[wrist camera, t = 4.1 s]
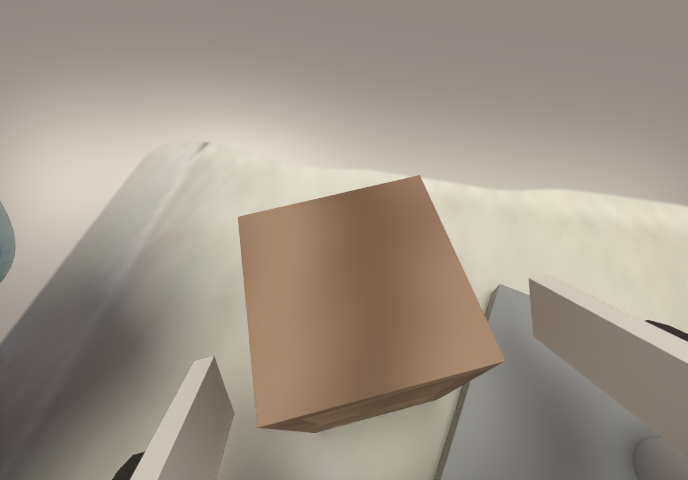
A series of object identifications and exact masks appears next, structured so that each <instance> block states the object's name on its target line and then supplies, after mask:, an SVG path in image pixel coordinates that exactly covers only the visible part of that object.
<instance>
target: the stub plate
mask: <svg viewBox="0 0 688 480" xmlns="http://www.w3.org/2000/svg"><path fill="white" fill-rule="evenodd" d="M485 318H486V320H487V322H488V324H489V326H490V329H491V331H492V333H493V335H494V337H495V339H496V342H497V344H498V346H499V348H500V350H501V352H502V355H503V357H504V359H505V362H503V363H501V364H499V365H498V366H496V367H494V368H492V369H491V370H489V371H487V372H485V373H483V374H482V375H480V376H478V377H476V378H475V379H473V380H471V381H469V382H467V383H466V384H464V386H463V389H462V392H461V395H460V399H459V402H458V405H457V408H456V412H455V415H454V418H453V421H452V425H451V428H450V431H449V434H448V437H447V441H446V444H445V447H444V450H443V454H442V457H441V460H440V463H439V467H438V470H437V473H436V476H435V480H688V457H687V456H686V455H684V454H683V453H682V452H681V451H679V450H678V449H677V448H676V447H674V446H673V445H672V444H670V443H669V442H668V441H667V440H665V439H664V438H663V437H661V436H660V435H659V434H658V433H656V432H655V431H654V430H652V429H651V428H650V427H649V426H647V425H646V424H645V423H644V422H642V421H641V420H640V419H638V418H637V417H636V416H635V415H633V414H632V413H631V412H629V411H628V410H627V409H626V408H624V407H623V406H622V405H621V404H619V403H618V402H617V401H615V400H614V399H613V398H612V397H610V396H609V395H608V394H606V393H605V392H604V391H603V390H601V389H600V388H599V387H597V386H596V385H595V384H594V383H592V382H591V381H590V380H589V379H587V378H586V377H585V376H583V375H582V374H581V373H580V372H578V371H577V370H576V369H574V368H573V367H572V366H571V365H569V364H568V363H567V362H566V361H564V360H563V359H562V358H560V357H559V356H558V355H557V354H555V353H554V352H553V351H551V350H550V349H549V348H548V347H546V346H545V345H544V344H542V343H541V342H540V341H539V340H537V339H536V338H535V337H534V336H533V328H532V314H531V301H530V296H529V295H527V294H524V293H522V292H519V291H517V290H514V289H511V288H509V287H506V286H504V285H501V284H499V286H498V287H497V288H496V289H495V290H494V291H493V293H492V295H491V298H490V302H489V305H488V308H487V311H486V315H485Z"/></svg>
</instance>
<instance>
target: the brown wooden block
mask: <svg viewBox="0 0 688 480" xmlns="http://www.w3.org/2000/svg"><path fill="white" fill-rule="evenodd" d="M238 223H239V234H240V244H241V255H242V266H243V277H244V287H245V298H246V309H247V320H248V330H249V341H250V352H251V363H252V373H253V384H254V395H255V406H256V416H257V427H258V428H267V429H278V430H290V431H301V432H312V433H316V432H319V431H323V430H327V429H330V428H334V427H338V426H341V425H345V424H349V423H352V422H356V421H360V420H363V419H367V418H371V417H374V416H378V415H382V414H385V413H389V412H393V411H396V410H400V409H404V408H407V407H411V406H415V405H418V404H422V403H426V402H429V401H433V400H437V399H439V398H441V397H442V396H444V395H446V394H448V393H450V392H451V391H453V390H455V389H457V388H458V387H460V386H462V385H464V384H466V383H467V382H469V381H471V380H473V379H475V378H476V377H478V376H480V375H482V374H483V373H485V372H487V371H489V370H491V369H492V368H494V367H496V366H498V365H499V364H501V363H503V362H505V359H504V357H503V355H502V352H501V350H500V348H499V346H498V344H497V342H496V339H495V337H494V335H493V333H492V331H491V329H490V326H489V324H488V322H487V320H486V318H485V316H484V313H483V311H482V309H481V307H480V305H479V303H478V300H477V298H476V296H475V294H474V292H473V290H472V287H471V285H470V283H469V281H468V279H467V277H466V274H465V272H464V270H463V268H462V266H461V264H460V262H459V259H458V257H457V255H456V253H455V251H454V249H453V246H452V244H451V242H450V240H449V238H448V236H447V233H446V231H445V229H444V227H443V225H442V223H441V220H440V218H439V216H438V214H437V212H436V210H435V207H434V205H433V203H432V201H431V199H430V197H429V194H428V192H427V190H426V188H425V186H424V184H423V181H422V179H421V177H420V175H419V176H414V177H410V178H406V179H401V180H397V181H393V182H388V183H384V184H379V185H375V186H371V187H366V188H362V189H358V190H353V191H349V192H345V193H340V194H336V195H332V196H327V197H323V198H318V199H314V200H310V201H305V202H301V203H297V204H292V205H288V206H284V207H279V208H275V209H270V210H266V211H262V212H257V213H253V214H249V215H244V216H240V217H238Z"/></svg>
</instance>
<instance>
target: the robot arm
mask: <svg viewBox="0 0 688 480" xmlns="http://www.w3.org/2000/svg"><path fill="white" fill-rule="evenodd" d="M14 254H15V237H14V231H13V228H12V225H11V222H10V220H9V217H8V215H7V213H6V212H5V209H4V207H3V205H2V204H1V202H0V283H1V281H2V280H3V279H4V278H5V276H6V274H7V273H8V271H9V269H10V267H11V265H12V263H13V259H14ZM529 287H530V301H531V314H532V328H533V336H534V337H535V338H536V339H537V340H539V341H540V342H541V343H542V344H544V345H545V346H546V347H548V348H549V349H550V350H551V351H553V352H554V353H555V354H557V355H558V356H559V357H560V358H562V359H563V360H564V361H566V362H567V363H568V364H569V365H571V366H572V367H573V368H574V369H576V370H577V371H578V372H580V373H581V374H582V375H583V376H585V377H586V378H587V379H589V380H590V381H591V382H592V383H594V384H595V385H596V386H597V387H599V388H600V389H601V390H603V391H604V392H605V393H606V394H608V395H609V396H610V397H612V398H613V399H614V400H615V401H617V402H618V403H619V404H621V405H622V406H623V407H624V408H626V409H627V410H628V411H629V412H631V413H632V414H633V415H635V416H636V417H637V418H638V419H640V420H641V421H642V422H644V423H645V424H646V425H647V426H649V427H650V428H651V429H652V430H654V431H655V432H656V433H658V434H659V435H660V436H661V437H663V438H664V439H665V440H667V441H668V442H669V443H670V444H672V445H673V446H674V447H676V448H677V449H678V450H679V451H681V452H682V453H683V454H684V455H686V456H687V457H688V334H687V333H684V332H682V331H680V330H678V329H676V328H673V327H671V326H668V325H665V324H661V323H657V322H654V321H650V320H646V321H643V320H641V319H639V318H637V317H635V316H633V315H631V314H629V313H627V312H625V311H623V310H620V309H618V308H616V307H614V306H612V305H610V304H608V303H606V302H604V301H602V300H600V299H598V298H595V297H593V296H591V295H589V294H587V293H585V292H583V291H581V290H579V289H577V288H575V287H573V286H571V285H568V284H566V283H564V282H562V281H560V280H558V279H556V278H554V277H552V276H550V275H548V274H543V275H539V276H535V277H531V278H529ZM233 416H234V411H233V408H232V405H231V403H230V400H229V397H228V394H227V391H226V388H225V385H224V383H223V380H222V377H221V374H220V371H219V368H218V365H217V363H216V360H215V357H214V356H211V357H207V358H203V359H199V360H195V361H194V363H193V364H192V366H191V368H190V370H189V372H188V374H187V376H186V377H185V379H184V381H183V383H182V385H181V387H180V388H179V390H178V392H177V394H176V396H175V398H174V400H173V401H172V403H171V405H170V407H169V409H168V411H167V412H166V414H165V416H164V418H163V420H162V422H161V424H160V425H159V427H158V429H157V431H156V433H155V435H154V436H153V438H152V440H151V442H150V444H149V446H148V447H147V449H146V451H145V452H143V453H139V454H135V455H133V456H132V457H131V458H130V459H129V460H128V461H127V462H126V463H125V464H124V465H123V466H122V467H121V468H120V469H119V470H118V471H117V473H116V474H115V476H114V478H113V479H112V480H216V477H217V474H218V470H219V466H220V463H221V459H222V456H223V452H224V448H225V445H226V441H227V437H228V434H229V430H230V427H231V423H232V419H233Z"/></svg>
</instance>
